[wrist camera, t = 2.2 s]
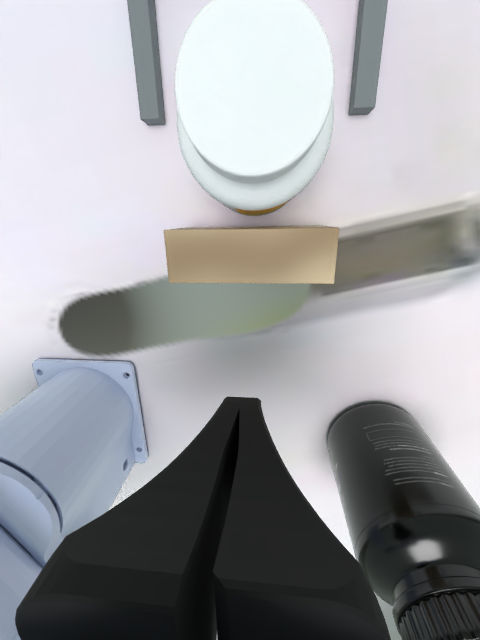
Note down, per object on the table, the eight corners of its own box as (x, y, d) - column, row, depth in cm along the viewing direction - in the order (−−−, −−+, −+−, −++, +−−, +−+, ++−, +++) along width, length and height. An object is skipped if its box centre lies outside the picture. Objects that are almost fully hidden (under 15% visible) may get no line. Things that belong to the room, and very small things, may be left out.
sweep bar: (318, 267, 18) (333, 283, 13) (192, 268, 18) (169, 282, 14) (321, 225, 17) (339, 227, 13) (189, 227, 18) (163, 230, 13)
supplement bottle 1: (321, 140, 16) (415, 16, 6) (274, 232, 17) (294, 240, 8) (233, 90, 15) (196, -125, 6) (193, 189, 17) (116, 145, 7)
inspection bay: (368, 114, 15) (375, 107, 14) (148, 125, 16) (140, 119, 15) (389, -74, 13) (399, -98, 12) (130, -45, 14) (120, -65, 13)
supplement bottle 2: (307, 446, 22) (346, 673, 11) (363, 383, 20) (481, 591, 9) (378, 484, 23) (482, 736, 12) (440, 428, 21) (641, 675, 10)
